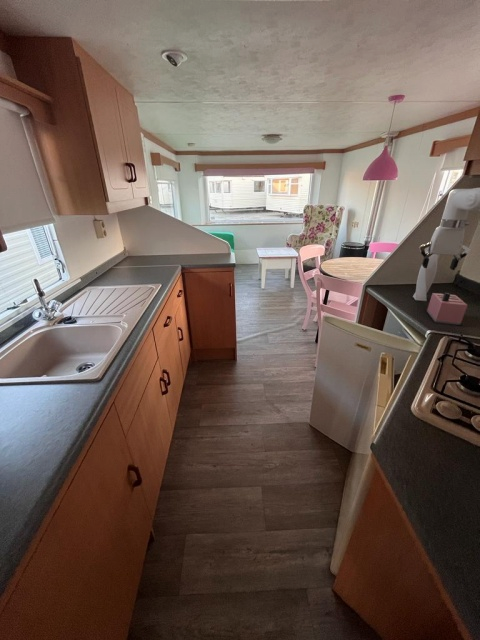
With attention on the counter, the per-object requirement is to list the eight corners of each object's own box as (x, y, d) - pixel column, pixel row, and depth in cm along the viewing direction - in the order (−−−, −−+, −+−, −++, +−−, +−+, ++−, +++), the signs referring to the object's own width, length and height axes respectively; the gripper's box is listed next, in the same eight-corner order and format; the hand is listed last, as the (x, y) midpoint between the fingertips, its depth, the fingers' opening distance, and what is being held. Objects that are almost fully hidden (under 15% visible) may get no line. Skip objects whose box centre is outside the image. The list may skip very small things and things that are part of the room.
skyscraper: (430, 302, 136) (447, 246, 124) (413, 300, 138) (429, 245, 126) (425, 297, 143) (441, 243, 131) (409, 295, 145) (424, 243, 133)
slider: (447, 299, 113) (449, 292, 112) (449, 301, 111) (451, 294, 110) (441, 299, 114) (443, 292, 112) (443, 300, 112) (445, 293, 111)
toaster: (449, 313, 123) (455, 294, 119) (460, 325, 112) (468, 305, 108) (426, 310, 126) (432, 292, 122) (435, 322, 114) (441, 302, 110)
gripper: (474, 224, 103) (459, 267, 110) (423, 223, 108) (412, 264, 115) (483, 226, 96) (466, 272, 103) (428, 224, 101) (416, 268, 109)
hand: (438, 268), depth 109 cm, fingers open, 9 cm apart
